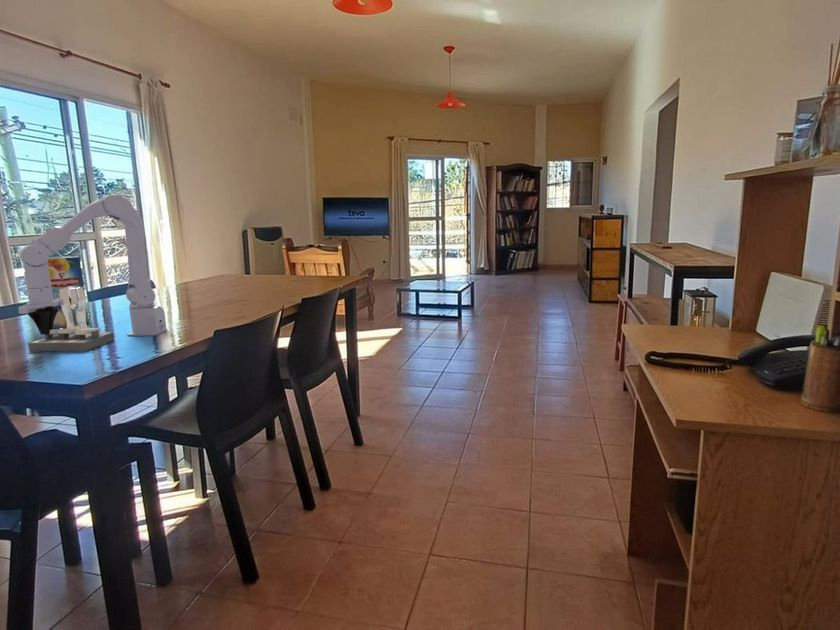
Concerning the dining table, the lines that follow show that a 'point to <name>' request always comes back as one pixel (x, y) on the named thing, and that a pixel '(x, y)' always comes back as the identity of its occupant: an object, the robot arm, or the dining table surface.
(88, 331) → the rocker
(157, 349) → the dining table surface
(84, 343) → the switch unit
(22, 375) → the dining table surface
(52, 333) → the rocker
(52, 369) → the dining table surface
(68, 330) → the rocker middle
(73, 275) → the juice carton
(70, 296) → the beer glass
